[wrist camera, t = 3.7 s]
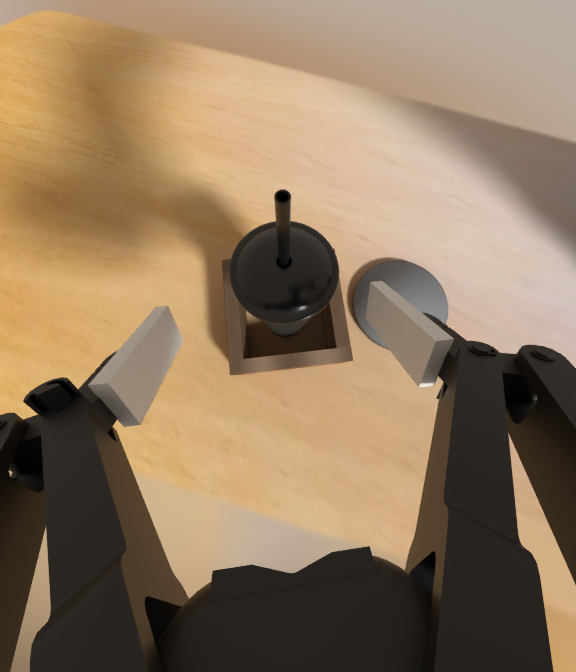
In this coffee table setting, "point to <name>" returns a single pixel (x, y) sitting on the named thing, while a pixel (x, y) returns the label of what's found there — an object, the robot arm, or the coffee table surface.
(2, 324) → the coffee table surface
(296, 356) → the wooden square tray
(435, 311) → the coaster
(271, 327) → the drinking cup
